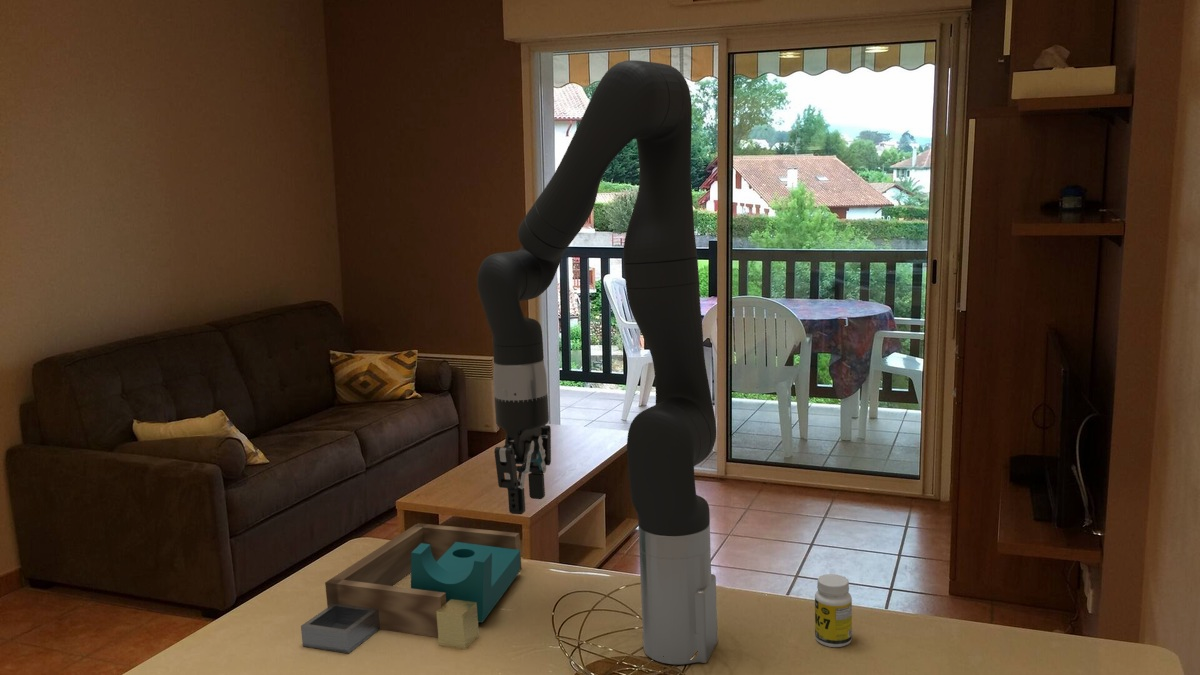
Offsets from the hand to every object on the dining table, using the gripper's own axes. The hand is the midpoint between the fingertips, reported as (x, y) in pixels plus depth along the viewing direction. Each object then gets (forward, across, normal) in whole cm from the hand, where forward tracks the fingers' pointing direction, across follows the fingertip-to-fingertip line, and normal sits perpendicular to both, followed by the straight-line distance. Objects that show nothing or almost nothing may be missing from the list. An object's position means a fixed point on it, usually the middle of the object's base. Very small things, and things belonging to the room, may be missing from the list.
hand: (527, 505), depth 139 cm
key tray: (+16, -16, +22) cm, 31 cm away
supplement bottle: (+16, +2, -43) cm, 46 cm away
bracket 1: (+16, 0, +18) cm, 23 cm away
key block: (+16, -12, +6) cm, 21 cm away
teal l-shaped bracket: (+16, 0, +11) cm, 19 cm away
